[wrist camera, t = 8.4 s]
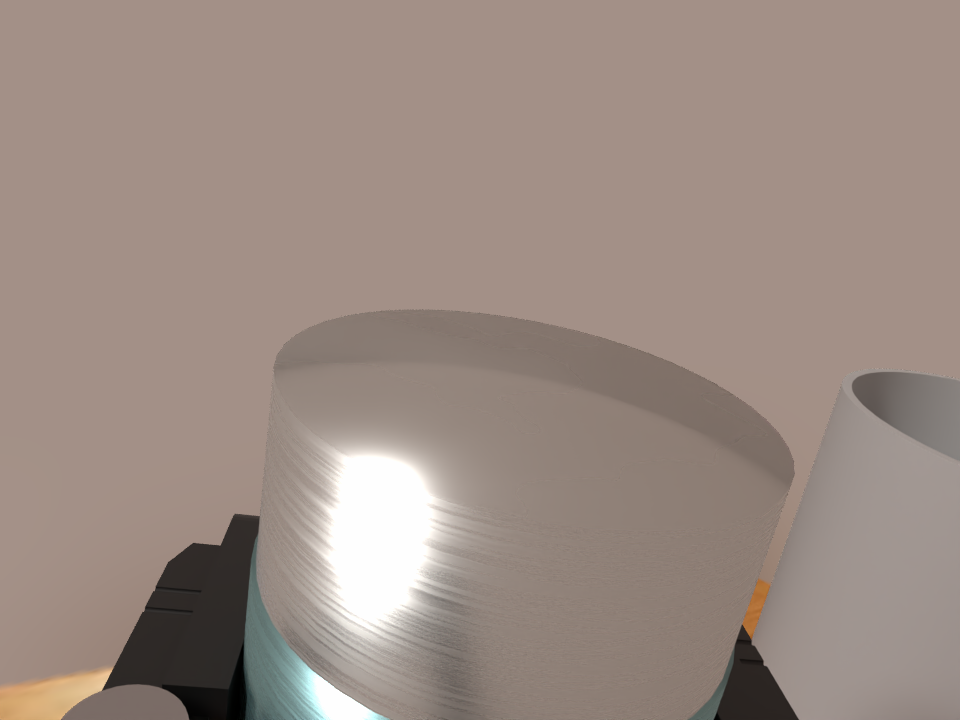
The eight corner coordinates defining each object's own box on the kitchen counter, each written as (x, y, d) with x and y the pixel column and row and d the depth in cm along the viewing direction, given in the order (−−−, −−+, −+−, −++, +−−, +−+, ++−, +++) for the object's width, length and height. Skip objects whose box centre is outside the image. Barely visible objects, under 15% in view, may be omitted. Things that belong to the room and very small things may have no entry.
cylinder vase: (932, 863, 39) (1156, 426, 31) (997, 1157, 28) (1380, 592, 19) (689, 762, 42) (831, 346, 34) (659, 986, 31) (859, 447, 23)
